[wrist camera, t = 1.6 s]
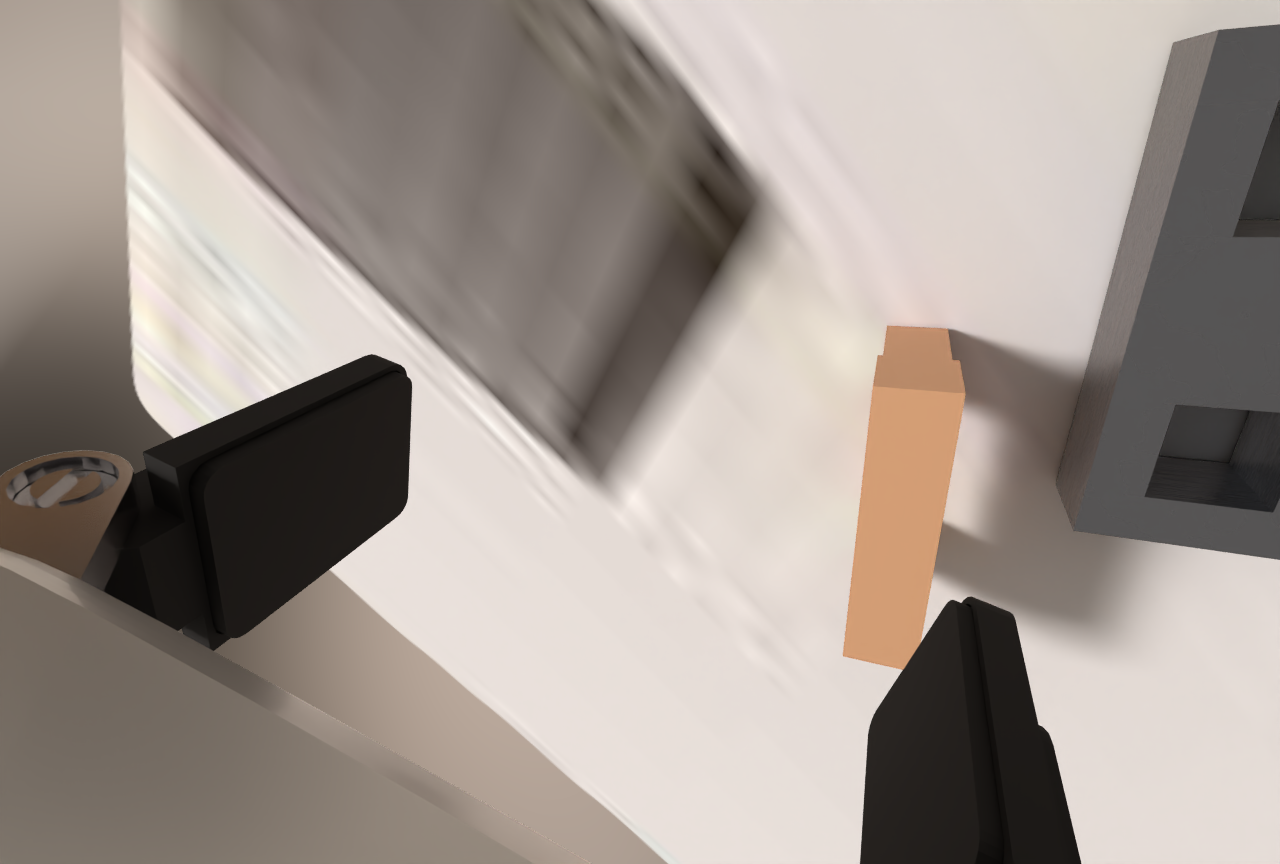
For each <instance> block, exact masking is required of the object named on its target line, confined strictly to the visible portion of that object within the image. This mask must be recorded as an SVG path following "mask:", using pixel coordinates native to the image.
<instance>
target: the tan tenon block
mask: <svg viewBox="0 0 1280 864" xmlns="http://www.w3.org/2000/svg"><path fill="white" fill-rule="evenodd" d="M965 395H966V393H965V387H964V381H963V376H962V370H961V365H960V360H952V353H951V347H950V340H949V333H948V329H942V328H921V327H901V326H887V331H886V338H885V346H884V353H883V356H882V355H878V358H877V364H876V370H875V377H874V383H873V391H872V400H871V409H870V418H869V427H868V435H867V444H866V453H865V462H864V471H863V480H862V489H861V498H860V507H859V516H858V525H857V534H856V542H855V551H854V560H853V569H852V578H851V587H850V596H849V605H848V614H847V623H846V632H845V641H844V649H843V656H844V657H849V658H853V659H858V660H862V661H867V662H871V663H875V664H880V665H884V666H889V667H893V668H897V669H902V670H903V669H904V668H905V666H906V665H907V663H908V662H909V660H910V659H911V657H912V655H913V654H914V652H915V651H916V649H917V648H918V646H919V645H920V643H921V638H922V632H923V626H924V621H925V615H926V610H927V604H928V599H929V593H930V588H931V582H932V577H933V571H934V566H935V560H936V555H937V549H938V544H939V538H940V533H941V527H942V522H943V516H944V511H945V505H946V500H947V494H948V489H949V483H950V478H951V472H952V467H953V461H954V456H955V450H956V445H957V439H958V433H959V428H960V422H961V417H962V411H963V406H964V400H965Z"/></svg>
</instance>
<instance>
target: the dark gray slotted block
mask: <svg viewBox="0 0 1280 864" xmlns="http://www.w3.org/2000/svg"><path fill="white" fill-rule="evenodd" d="M1279 100H1280V25H1269V26H1258V27H1247V28H1236V29H1225V30H1217V31H1214V32H1210V33H1206V34H1203V35H1199V36H1195V37H1192V38H1188V39H1185V40H1181V41H1177V42H1174V43H1173V45H1172V49H1171V53H1170V57H1169V60H1168V64H1167V68H1166V72H1165V75H1164V79H1163V83H1162V87H1161V90H1160V94H1159V98H1158V102H1157V106H1156V109H1155V113H1154V117H1153V121H1152V124H1151V128H1150V132H1149V136H1148V139H1147V143H1146V147H1145V151H1144V154H1143V158H1142V162H1141V166H1140V169H1139V173H1138V177H1137V181H1136V185H1135V188H1134V192H1133V196H1132V200H1131V203H1130V207H1129V211H1128V215H1127V218H1126V222H1125V226H1124V230H1123V233H1122V237H1121V241H1120V245H1119V248H1118V252H1117V256H1116V260H1115V264H1114V267H1113V271H1112V275H1111V279H1110V282H1109V286H1108V290H1107V294H1106V297H1105V301H1104V305H1103V309H1102V312H1101V316H1100V320H1099V324H1098V327H1097V331H1096V335H1095V339H1094V343H1093V346H1092V350H1091V354H1090V358H1089V361H1088V365H1087V369H1086V373H1085V376H1084V380H1083V384H1082V388H1081V391H1080V395H1079V399H1078V403H1077V406H1076V410H1075V414H1074V418H1073V422H1072V425H1071V429H1070V433H1069V437H1068V440H1067V444H1066V448H1065V452H1064V455H1063V459H1062V463H1061V467H1060V470H1059V474H1058V478H1057V482H1056V486H1057V489H1058V491H1059V494H1060V497H1061V499H1062V502H1063V504H1064V507H1065V510H1066V512H1067V515H1068V518H1069V520H1070V523H1071V525H1072V528H1073V530H1074V531H1081V532H1088V533H1095V534H1102V535H1109V536H1116V537H1123V538H1130V539H1137V540H1144V541H1151V542H1158V543H1165V544H1172V545H1179V546H1187V547H1194V548H1201V549H1208V550H1215V551H1222V552H1229V553H1236V554H1243V555H1250V556H1257V557H1264V558H1271V559H1278V560H1280V220H1239V217H1240V214H1241V211H1242V208H1243V205H1244V202H1245V199H1246V196H1247V193H1248V190H1249V187H1250V184H1251V181H1252V178H1253V176H1254V173H1255V170H1256V167H1257V164H1258V161H1259V158H1260V155H1261V152H1262V149H1263V146H1264V143H1265V140H1266V137H1267V134H1268V131H1269V128H1270V125H1271V122H1272V120H1273V117H1274V114H1275V111H1276V108H1277V105H1278V102H1279ZM1175 405H1187V406H1200V407H1213V408H1226V409H1238V410H1250V412H1249V415H1248V417H1247V420H1246V422H1245V425H1244V427H1243V430H1242V432H1241V435H1240V437H1239V440H1238V442H1237V445H1236V448H1235V450H1234V453H1233V455H1232V458H1231V460H1230V463H1219V462H1210V461H1200V460H1190V459H1180V458H1171V457H1161V456H1158V455H1159V452H1160V449H1161V447H1162V444H1163V441H1164V438H1165V435H1166V432H1167V429H1168V426H1169V423H1170V420H1171V417H1172V414H1173V411H1174V408H1175Z"/></svg>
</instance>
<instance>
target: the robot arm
mask: <svg viewBox="0 0 1280 864" xmlns="http://www.w3.org/2000/svg"><path fill="white" fill-rule="evenodd" d="M411 402H412V382H411V380H410V378H408V377H407V373H406V371H405V368H404V367H402V366H401V365H399V364H397V363H394V362H392V361H389V360H387V359H384V358H382V357H379V356H377V355H373V354H371V355H367V356H364V357H362V358H359V359H357V360H355V361H352V362H350V363H348V364H346V365H343V366H341V367H339V368H336V369H334V370H332V371H329V372H327V373H325V374H322V375H320V376H318V377H315V378H313V379H311V380H308V381H306V382H304V383H301V384H299V385H297V386H295V387H292V388H290V389H288V390H285V391H283V392H281V393H278V394H276V395H274V396H271V397H269V398H267V399H264V400H262V401H260V402H257V403H255V404H253V405H250V406H248V407H246V408H243V409H241V410H239V411H237V412H234V413H232V414H230V415H227V416H225V417H223V418H220V419H218V420H216V421H213V422H211V423H209V424H206V425H204V426H202V427H199V428H197V429H195V430H192V431H190V432H188V433H185V434H183V435H181V436H179V437H176V438H174V439H172V440H169V441H167V442H165V443H162V444H160V445H158V446H155V447H153V448H151V449H148V450H146V451H144V452H143V456H144V460H145V465H146V469H145V470H143V471H140V472H138V473H136V474H134V471H133V469H132V467H131V465H130V463H129V462H128V461H126V460H125V459H123V458H121V457H120V456H118V455H114V454H111V453H107V452H101V451H88V450H82V451H69V452H68V451H67V452H60V453H55V454H50V455H45V456H41V457H39V458H35V459H33V460H30V461H27V462H24V463H22V464H20V465H18V466H16V467H14V468H12V469H10V470H8V471H6V472H5V473H4V474H3V475H2V476H0V864H592V863H590V862H589V861H587V860H585V859H583V858H582V857H580V856H578V855H576V854H575V853H573V852H571V851H569V850H568V849H566V848H564V847H562V846H560V845H559V844H557V843H555V842H553V841H551V840H550V839H548V838H546V837H545V836H543V835H541V834H539V833H537V832H536V831H534V830H532V829H531V828H529V827H527V826H525V825H524V824H522V823H520V822H518V821H517V820H515V819H513V818H511V817H509V816H508V815H506V814H504V813H502V812H501V811H499V810H497V809H495V808H493V807H492V806H490V805H488V804H486V803H485V802H483V801H481V800H479V799H477V798H476V797H474V796H472V795H470V794H468V793H467V792H465V791H463V790H461V789H460V788H458V787H456V786H454V785H453V784H451V783H449V782H447V781H445V780H443V779H442V778H440V777H438V776H437V775H435V774H433V773H431V772H429V771H428V770H426V769H424V768H422V767H421V766H419V765H417V764H415V763H413V762H412V761H410V760H408V759H406V758H404V757H403V756H401V755H399V754H397V753H396V752H394V751H392V750H390V749H389V748H387V747H385V746H383V745H381V744H380V743H378V742H376V741H374V740H372V739H371V738H369V737H367V736H365V735H363V734H362V733H360V732H358V731H356V730H355V729H353V728H351V727H349V726H347V725H346V724H344V723H342V722H340V721H339V720H337V719H335V718H333V717H331V716H330V715H328V714H326V713H324V712H322V711H321V710H319V709H317V708H315V707H314V706H312V705H310V704H308V703H306V702H305V701H303V700H301V699H299V698H297V697H296V696H294V695H292V694H290V693H288V692H286V691H285V690H283V689H281V688H279V687H277V686H276V685H274V684H272V683H270V682H268V681H267V680H265V679H263V678H261V677H259V676H258V675H256V674H254V673H252V672H250V671H249V670H247V669H245V668H243V667H241V666H240V665H238V664H236V663H234V662H232V661H230V660H229V659H227V658H225V657H223V656H221V655H220V654H218V653H216V652H214V650H215V649H217V648H218V647H219V646H221V645H222V644H223V643H225V642H226V641H227V640H229V639H230V638H238V637H241V636H243V635H244V634H246V633H247V632H249V631H250V630H252V629H253V628H254V627H255V626H256V625H258V624H259V623H261V622H262V621H263V620H264V619H266V618H267V617H268V616H269V615H271V614H272V613H273V612H274V611H276V610H277V609H279V608H280V607H281V606H283V605H284V604H285V603H286V602H288V601H289V600H290V599H291V598H293V597H294V596H295V595H297V594H298V593H299V592H301V591H302V590H303V589H304V588H306V587H307V586H308V585H310V584H311V583H312V582H314V581H315V580H316V579H317V578H319V577H320V576H321V575H322V574H324V573H325V572H326V571H328V570H329V569H330V568H332V567H333V566H334V565H336V564H337V563H338V562H339V561H341V560H342V559H343V558H345V557H346V556H347V555H348V554H350V553H351V552H352V551H354V550H355V549H356V548H357V547H359V546H360V545H361V544H363V543H364V542H365V541H367V540H368V539H369V538H370V537H372V536H373V535H374V534H376V533H377V532H378V531H379V530H381V529H382V528H383V527H385V526H386V525H387V524H388V523H390V522H391V521H392V520H394V519H395V518H396V517H397V516H398V515H399V514H400V513H401V512H402V511H403V509H404V507H405V506H406V503H407V499H408V482H409V455H410V429H411ZM180 629H182V631H183V634H182V633H180V632H178V631H179V630H180ZM860 864H1081V860H1080V856H1079V852H1078V848H1077V843H1076V839H1075V835H1074V831H1073V826H1072V822H1071V818H1070V814H1069V810H1068V805H1067V801H1066V797H1065V793H1064V788H1063V784H1062V780H1061V776H1060V772H1059V767H1058V763H1057V759H1056V755H1055V750H1054V746H1053V743H1052V740H1051V738H1050V735H1049V733H1048V732H1047V731H1046V730H1045V729H1044V728H1043V727H1042V726H1039V725H1038V721H1037V717H1036V712H1035V707H1034V703H1033V698H1032V694H1031V689H1030V685H1029V680H1028V676H1027V671H1026V666H1025V662H1024V657H1023V653H1022V648H1021V644H1020V639H1019V635H1018V630H1017V626H1016V621H1015V618H1014V616H1013V614H1012V613H1010V612H1008V611H1006V610H1003V609H1001V608H998V607H996V606H993V605H991V604H989V603H986V602H984V601H981V600H979V599H976V598H974V597H967V598H966V599H965V600H963V602H962V603H960V602H957V601H955V600H950V601H949V602H948V603H947V604H946V605H945V607H944V608H943V610H942V611H941V613H940V614H939V616H938V617H937V619H936V620H935V622H934V624H933V625H932V627H931V628H930V630H929V631H928V633H927V634H926V636H925V637H924V639H923V640H922V642H921V643H920V645H919V646H918V648H917V649H916V651H915V652H914V654H913V655H912V657H911V659H910V660H909V662H908V663H907V665H906V666H905V668H904V669H903V671H902V672H901V674H900V675H899V677H898V678H897V680H896V681H895V683H894V684H893V686H892V687H891V689H890V690H889V692H888V694H887V695H886V697H885V698H884V700H883V701H882V703H881V704H880V706H879V707H878V709H877V710H876V712H875V714H874V716H873V718H872V721H871V724H870V728H869V733H868V745H867V761H866V777H865V793H864V809H863V825H862V842H861V858H860Z"/></svg>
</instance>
